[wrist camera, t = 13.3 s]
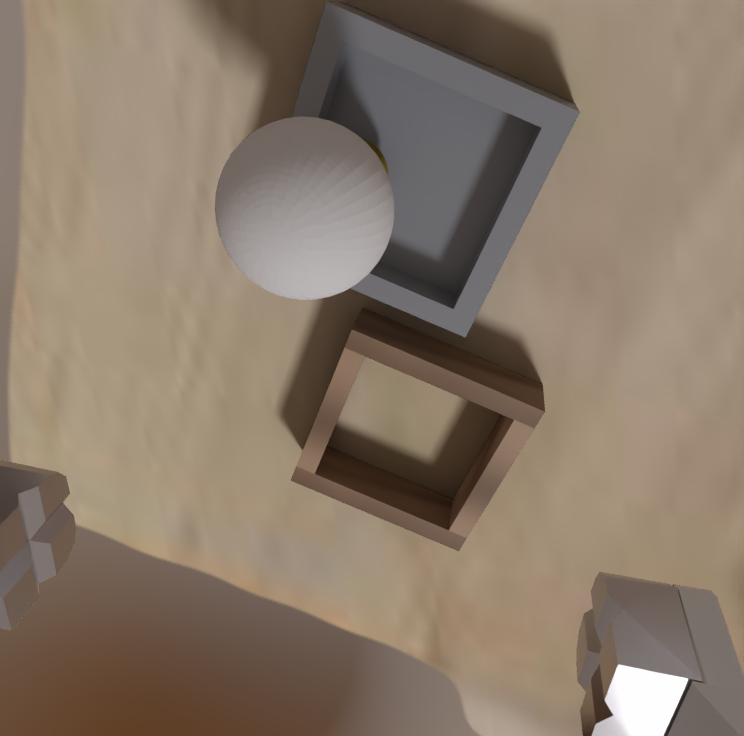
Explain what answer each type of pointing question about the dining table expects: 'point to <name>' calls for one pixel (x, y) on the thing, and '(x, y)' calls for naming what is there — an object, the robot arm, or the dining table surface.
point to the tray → (436, 156)
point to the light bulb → (305, 207)
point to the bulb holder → (444, 371)
